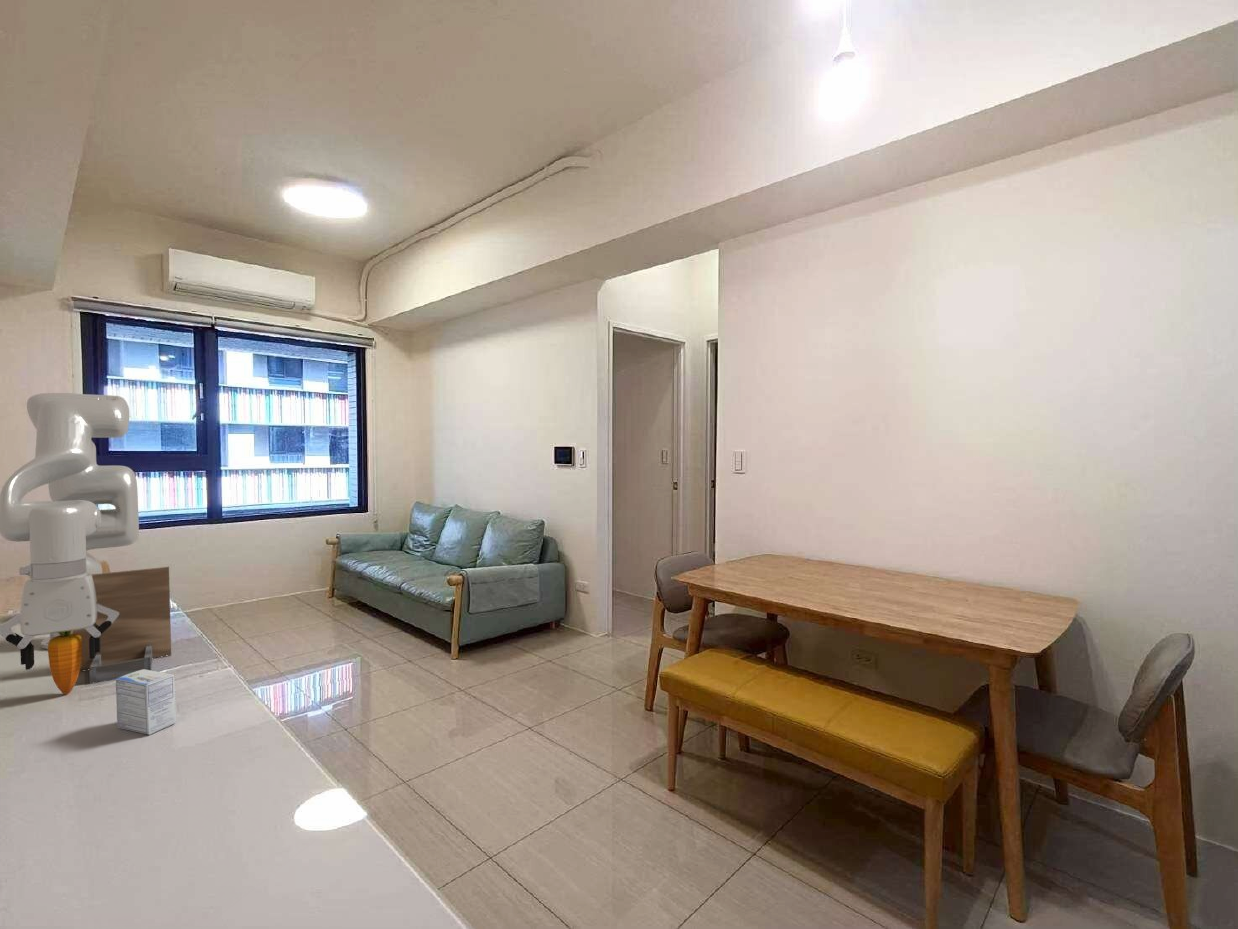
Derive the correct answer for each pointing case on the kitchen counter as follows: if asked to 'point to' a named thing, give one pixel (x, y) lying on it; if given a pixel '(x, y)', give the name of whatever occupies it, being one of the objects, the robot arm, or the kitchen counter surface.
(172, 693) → the medicine box
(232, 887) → the kitchen counter surface
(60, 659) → the carrot
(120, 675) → the wall holder
